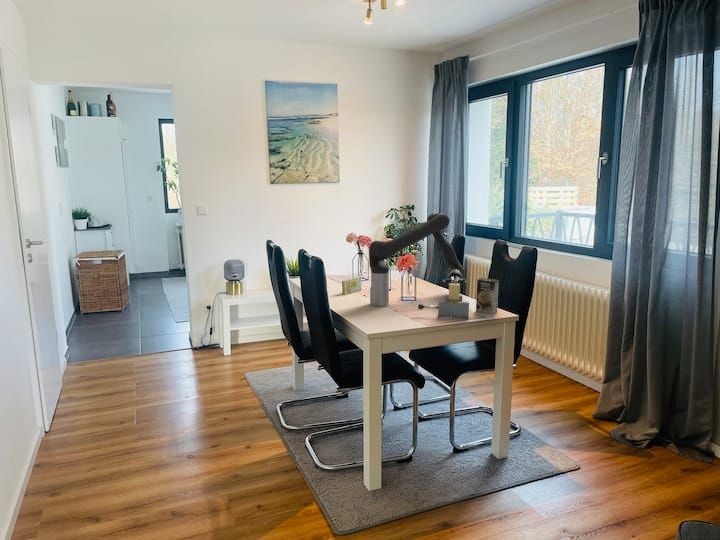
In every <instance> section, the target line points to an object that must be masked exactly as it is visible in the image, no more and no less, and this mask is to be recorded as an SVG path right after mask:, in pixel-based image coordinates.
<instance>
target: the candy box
mask: <svg viewBox="0 0 720 540" xmlns="http://www.w3.org/2000/svg"><path fill="white" fill-rule="evenodd" d="M341 289H342V291H341V292H342V294H341V295H342V296H347V295H350V294H354V293H357V291H358V292H361V291H362V276H356V277H352V278H349V279H348V278H347V279H344V280H342V281H341ZM360 290H361V291H360Z"/></svg>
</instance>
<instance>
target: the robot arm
mask: <svg viewBox="0 0 720 540" xmlns="http://www.w3.org/2000/svg"><path fill="white" fill-rule="evenodd" d="M449 225H450V217H449V216H448V214H446V213H443V212H438V213H430V214H429V215H428V216H427V219H426V221H424V222H420V223H416V224H413V225H411V226H408V227H406V228H404V229H402V230H401V231H400V233H399V234H398V235H397V237H394V238H392V239H391V240H388V241H383V240H374V241H372V242H371V244H369V248H368V260H369V261H368V262H369V267H370V288H369V302H370V304H369V306H371V307H372V306H374V307H387V306H390V305H389V304H390V303H389V302H390V300H389V299H390V297H389V296H390V295H389V294H390V290H389V289H390V285H389V284H390V267H389V266H388V265H387V264H386V262H385V260H388V259H390V258H392V257H393V256H394V255H396V254H397V253H398V252H400V251H402V250H405V249H407V248H409V247H410V246H414V245H415V244H416V243H418V242H420V241H421V240H423V239H425V238H428V237H429V236H430V235H432V236H433V239H434V240H435V242H436V244H437V246H438V248H439V250H440V252H441V254H442V257H443V261H444V263H445V265H453V266H451V267H448V268H447V269H446V270H445V276H446V278H445V277H443V278H442V283H443V284H445V285H448V286H449V283H459V284H460V286H462V285H466V284H467V285H468V279H467V278H463V277H464V276H465V275H466V271H465V268H464V267H463V265H462V264H461V262H460V261H459V260H458V259H459V258H458V257H457V255H456V251H455V248H454V247H453V245H452V244H451V243H450V241H449V240H448V239H447V238H446V236H445V234H444V233H443V230H446V229H447V228H448V226H449Z"/></svg>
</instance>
